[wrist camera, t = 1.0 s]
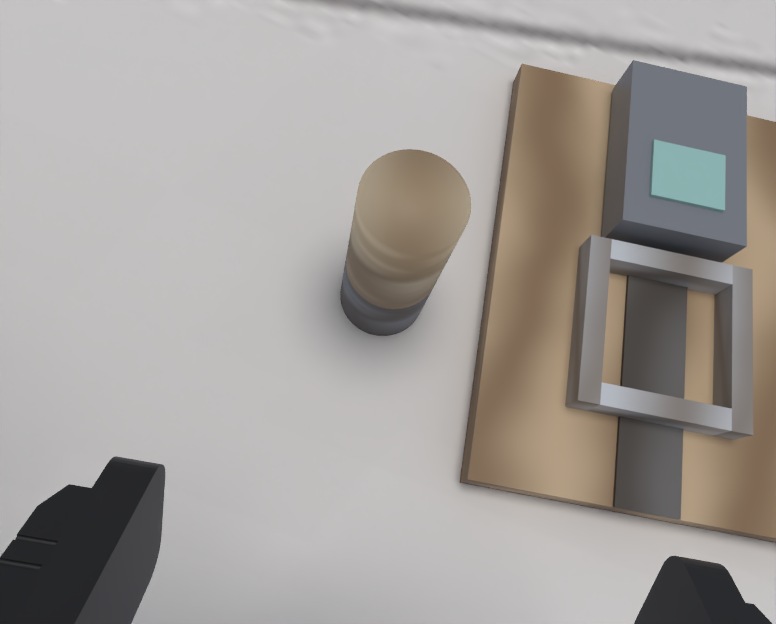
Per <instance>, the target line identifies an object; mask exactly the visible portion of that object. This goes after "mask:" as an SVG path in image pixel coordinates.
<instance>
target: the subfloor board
mask: <svg viewBox="0 0 776 624" xmlns="http://www.w3.org/2000/svg"><path fill="white" fill-rule="evenodd" d="M615 86H616V85H612V84H608V83H603V82H599V81H595V80H590V79H586V78H582V77H577V76H573V75H569V74H564V73H560V72H555V71H551V70H547V69H542V68H538V67H534V66H529V65H525V64H522V65H521V67H520V69H519V71H518V73H517V75H516V77H515V80H514V83H513V90H512V98H511V105H510V112H509V120H508V127H507V135H506V142H505V150H504V157H503V165H502V172H501V180H500V187H499V194H498V202H497V209H496V217H495V224H494V232H493V239H492V247H491V254H490V262H489V269H488V276H487V284H486V291H485V299H484V306H483V314H482V321H481V329H480V336H479V344H478V351H477V358H476V366H475V373H474V381H473V388H472V396H471V403H470V411H469V418H468V426H467V433H466V440H465V448H464V455H463V463H462V470H461V478H460V482H462V483H467V484H473V485H478V486H483V487H488V488H494V489H499V490H504V491H509V492H515V493H520V494H525V495H530V496H536V497H541V498H546V499H551V500H557V501H562V502H567V503H572V504H578V505H583V506H588V507H593V508H599V509H604V510H609V511H614V512H620V513H625V514H630V515H635V516H641V517H646V518H651V519H656V520H662V521H667V522H672V523H677V524H683V525H688V526H693V527H698V528H704V529H709V530H714V531H719V532H724V533H730V534H735V535H740V536H745V537H751V538H756V539H761V540H766V541H772V542H776V122H773V121H769V120H764V119H760V118H756V117H751V116H747V247H745V248H744V249H742V250H741V251H739V252H738V253H736V254H734V255H733V256H731V257H730V258H728V259H727V260H725V261H724V262H722V263H721V262H716V261H711V260H707V259H702V258H697V257H693V256H688V255H683V254H679V253H674V252H670V251H665V250H660V249H656V248H651V247H646V246H642V245H637V244H632V243H628V242H623V241H619V240H614V239H609V238H605V237H601V236H602V223H603V210H604V196H605V183H606V170H607V157H608V144H609V131H610V118H611V105H612V92H613V89H614V87H615Z"/></svg>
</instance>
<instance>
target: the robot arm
mask: <svg viewBox="0 0 776 624" xmlns="http://www.w3.org/2000/svg"><path fill="white" fill-rule="evenodd" d="M164 486H165V467H164V465H162V464H156V463H150V462H144V461H139V460H133V459H127V458H122V457H113V458H112V459H111V460H110V461H109V463H108V464H107V465H106V467H105V469H104V470H103V472H102V473H101V475H100V476H99V478H98V479H97V481H96V483H95V484H94V486H93V487H92V488H87V487H81V486H75V485H68V486H66V487H65V488H63V489H62V490H60V491H59V492H57V493H56V494H54V495H53V496H51V497H50V498H48V499H47V500H46V501H44V502H43V503H41V504H40V505H38V506H37V507H36V509H35V510H34V512H33V513H32V514H31V516H30V517H29V518H28V520H27V521H26V523H25V524H24V525H23V527H22V528H21V529H20V531H19V532H18V534H17V537H16V539H15V540H13V541H12V542H11V543H10V545H9V546H8V547H7V549H6V550H5V552H4V553H3V554H2V556H1V557H0V624H131V622H132V620H133V618H134V616H135V613H136V611H137V609H138V607H139V604H140V602H141V600H142V598H143V595H144V593H145V591H146V589H147V587H148V584H149V582H150V580H151V577H152V574H153V571H154V568H155V565H156V561H157V558H158V553H159V548H160V543H161V532H162V516H163V501H164ZM634 624H772V623H771V622H770V621H769V620H768V619H767V618H766V617H765V616H764V614H763V613H762V612H761V611H760V610H759V609H758V608H757V607H756V606H755V605H754V604H749V603H745V602H744V600H743V598H742V596H741V594H740V592H739V590H738V588H737V587H736V585H735V583H734V581H733V579H732V577H731V575H730V574H729V572H728V570H727V569H726V568H725V567H724V566H722V565H721V564H718V563H712V562H706V561H701V560H695V559H689V558H684V557H678V556H671V557H669V558H668V559H667V560H666V561H665V562H664V564H663V566H662V568H661V570H660V572H659V574H658V576H657V578H656V580H655V582H654V584H653V586H652V588H651V590H650V592H649V594H648V596H647V598H646V600H645V602H644V604H643V606H642V608H641V610H640V612H639V614H638V616H637V618H636V621H635V623H634Z"/></svg>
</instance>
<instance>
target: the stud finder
mask: <svg viewBox="0 0 776 624" xmlns="http://www.w3.org/2000/svg"><path fill="white" fill-rule="evenodd" d="M601 237H605V238H609V239H614V240H619V241H623V242H628V243H632V244H637V245H642V246H646V247H651V248H656V249H660V250H665V251H670V252H674V253H679V254H683V255H688V256H693V257H697V258H702V259H707V260H711V261H716V262H721V263H722V262H724V261H725V260H727V259H728V258H730V257H731V256H733V255H734V254H736V253H738V252H739V251H741V250H742V249H744V248H745V247H747V87H746V86H742V85H737V84H733V83H729V82H724V81H720V80H716V79H712V78H707V77H703V76H699V75H694V74H690V73H686V72H681V71H677V70H673V69H669V68H664V67H660V66H656V65H651V64H647V63H643V62H638V61H634V60H633V61H632V63H631V64H630V66H629V67H628V68H627V70H626V71H625V73H624V74H623V76H622V77H621V79H620V80H619V81H618V83H617V84H616V86H615V87H614V89H613V92H612V105H611V118H610V131H609V144H608V157H607V170H606V183H605V196H604V210H603V223H602V236H601Z"/></svg>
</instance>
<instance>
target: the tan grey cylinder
mask: <svg viewBox="0 0 776 624" xmlns="http://www.w3.org/2000/svg"><path fill="white" fill-rule="evenodd" d="M470 212H471V198H470V194H469V190H468V187H467V185H466V183H465V181H464V179H463V178H462V176H461V175H460V173H459V172H458V171H457V170H456V169H455V168H454V167H453V166H452V165H451V164H450V163H448V162H447V161H446V160H444V159H442V158H441V157H439V156H437V155H434V154H432V153H429V152H426V151H421V150H411V149H408V150H399V151H394V152H391V153H388V154H386V155H384V156H382V157H380V158H379V159H377V160H376V161H374V162H373V163H372V164H371V165H370V166H369V167H368V168H367V170H366V171H365V173H364V174H363V176H362V178H361V180H360V183H359V186H358V191H357V197H356V203H355V209H354V215H353V221H352V227H351V233H350V239H349V245H348V250H347V256H346V262H345V268H344V274H343V280H342V286H341V304H342V307H343V310H344V312H345V314H346V315H347V317H348V318H349V320H350V321H351V322H352V323H353V324H354V325H355V326H357V327H358V328H359V329H361V330H363V331H365V332H367V333H370V334H373V335H380V336H386V335H393V334H397V333H399V332H401V331H403V330H405V329H407V328H408V327H409V326H410V325H411V324H412V323H413V322H414V321H415V320H416V318H417V317H418V315H419V313H420V311H421V309H422V308H423V306H424V304H425V302H426V300H427V298H428V296H429V294H430V293H431V291H432V289H433V287H434V285H435V283H436V281H437V279H438V278H439V276H440V274H441V272H442V270H443V268H444V266H445V264H446V263H447V261H448V259H449V257H450V255H451V253H452V251H453V250H454V248H455V246H456V244H457V242H458V240H459V238H460V236H461V235H462V233H463V231H464V229H465V227H466V225H467V223H468V220H469V217H470Z"/></svg>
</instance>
